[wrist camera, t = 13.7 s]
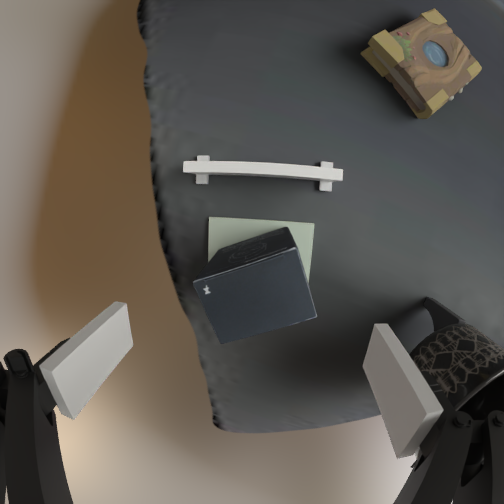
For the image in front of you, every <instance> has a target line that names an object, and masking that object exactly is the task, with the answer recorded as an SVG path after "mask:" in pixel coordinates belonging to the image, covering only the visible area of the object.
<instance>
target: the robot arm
mask: <svg viewBox="0 0 504 504" xmlns="http://www.w3.org/2000/svg"><path fill="white" fill-rule="evenodd" d="M132 346H133V341H132V335H131V329H130V323H129V316H128V310H127V304H126V303H122V302H116V301H115V302H114V303H113V304H111V305H110V306H109V307H108V308H106V309H105V310H104V311H103V312H101V313H100V314H99V315H98V316H97V317H96V318H94V319H93V320H92V321H91V322H89V323H88V324H87V325H86V326H85V327H83V328H82V329H81V330H80V331H79V332H77V333H76V334H75V335H74V336H73V337H72V338H68V339H66V340H64V341H61V342H60V343H59V344H58V345H57V346H55V348H53V349H52V350H51V351H50V352H49V353H47V354H46V355H45V356H44V357H42V358H41V359H40V360H39V361H38V362H37V363H36V364H34V366H33V365H32V362H31V360H30V357H29V355H28V353H27V352H26V350H23V349H15V350H12V351H10V352H8V353H7V354H6V355H5V356H4V361H5V364H6V366H7V368H8V370H5V369H4V368H3V365H2V363H1V362H0V504H5V493H6V485H7V493H8V500H9V504H73V501H72V498H71V494H70V491H69V487H68V483H67V479H66V475H65V471H64V466H63V462H62V456H61V451H60V445H59V439H58V432H57V424H56V415H55V412H54V410H53V409H54V407H55V406H56V405H57V406H58V408H59V410H60V412H61V414H63V415H65V416H67V417H69V418H71V419H73V420H74V419H75V418H76V417H77V415H78V414H79V413H80V411H81V410H82V409H83V407H84V406H85V405H86V404H87V402H88V401H89V400H90V399H91V397H92V396H93V395H94V393H95V392H96V391H97V390H98V388H99V387H100V386H101V384H102V383H103V382H104V381H105V380H106V378H107V377H108V376H109V375H110V373H111V372H112V371H113V370H114V368H115V367H116V366H117V365H118V363H119V362H120V361H121V360H122V358H123V357H124V356H125V355H126V354H127V352H128V351H129V350H130V349H131V347H132ZM363 369H364V371H365V374H366V376H367V379H368V381H369V384H370V386H371V389H372V391H373V394H374V396H375V399H376V401H377V404H378V407H379V409H380V412H381V415H382V417H383V420H384V423H385V426H386V428H387V431H388V434H389V437H390V440H391V442H392V445H393V448H394V451H395V454H396V457H397V458H402V457H407V456H411V455H413V454H414V453H415V452H416V450H417V449H418V448H419V447H420V449H421V451H422V453H421V455H420V456H419V457H418V459H417V460H416V461H415V462H414V463H413V465H412V466H411V467H412V468H413V467H414V468H413V470H412V472H411V474H410V476H409V477H408V479H407V481H406V483H405V485H404V487H403V488H402V490H401V492H400V494H399V495H398V497H397V499H396V500H395V502H394V503H393V504H451V502H452V500H453V503H452V504H504V412H502V411H498V410H496V411H492V412H491V413H490V414H489V415H488V417H487V418H486V420H473V419H472V417H471V416H470V415H469V414H467V413H465V412H463V411H455V409H454V407H453V406H452V404H451V403H450V401H449V399H448V398H447V396H446V395H445V393H444V392H443V391H442V389H441V387H440V386H439V385H438V383H437V381H436V380H435V378H434V377H433V376H432V375H431V374H429V373H428V372H427V371H419V369H418V368H417V366H416V365H415V363H414V362H413V360H412V359H411V357H410V356H409V354H408V353H407V351H406V350H405V348H404V347H403V345H402V344H401V342H400V341H399V340H398V338H397V337H396V335H395V334H394V332H393V331H392V330H391V328H390V327H389V325H388V324H374V328H373V331H372V335H371V339H370V342H369V346H368V349H367V353H366V356H365V359H364V363H363Z"/></svg>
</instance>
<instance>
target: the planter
mask: <svg viewBox="0 0 504 504" xmlns="http://www.w3.org/2000/svg"><path fill="white" fill-rule="evenodd" d="M424 306H425V307H426V308H427V310H428V311H429V313H430V315H431V317H432V320H433V324H434V332H433V333H432V334H430V335H429V336H427V337H426V338H425V339H424V340H423V341H421V342H420V343H419V344H418V345H417V346H416V347H415V348H414V349H413V350H412V352H411V353H410V354H409V356H410V357H411V359H412V360H413V362H414V363H415V365H416V366H417V368H418V369H419V371H427V372H428V373H429V374H431V375H432V376H433V377H434V378H435V380H436V381H437V383H438V385H439V386H440V387H441V389H442V391H443V392H444V393H445V395H446V396H447V398H448V399H449V401H450V403H451V404H452V406H453V407H454V409H455V411H463V412H465V413H467V414H469V415H470V416H471V417H472V419H473V420H486V418H487V417H488V415H489V414H490V413H491V412H492V411H496V410H498V411H502V412H504V349H503V348H501V347H500V346H499V345H497V344H496V343H495V342H493V341H492V340H491V339H489V338H488V337H487V336H485V335H484V334H483V333H481V332H480V331H479V330H477V329H476V328H475V327H473V326H471V325H469V324H465V323H466V321H465V320H463V319H462V318H461V317H459V316H458V315H456V314H455V313H453V312H452V311H451V310H449V309H448V308H446V307H445V306H443V305H442V304H440V303H439V302H438V301H436V300H435V299H433V298H429V297H427V298H426V300H425V303H424ZM421 453H422V451H421V449H420V447H419V448H418V449H417V450H416V452H415V456H416V458H417V459H418V457H419V456H420V455H421Z"/></svg>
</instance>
